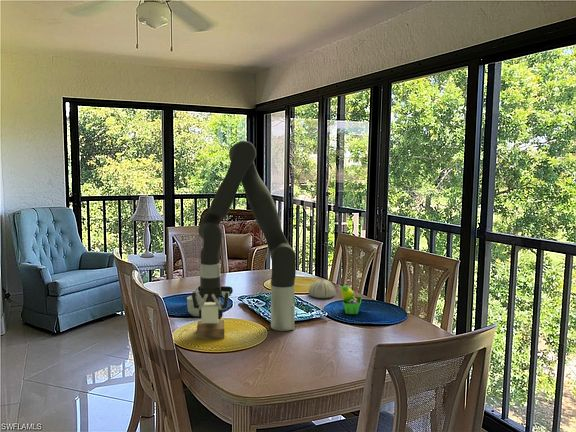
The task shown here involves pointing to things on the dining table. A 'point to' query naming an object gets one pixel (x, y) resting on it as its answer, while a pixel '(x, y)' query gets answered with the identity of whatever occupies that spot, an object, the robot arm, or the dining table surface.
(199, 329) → the walnut base
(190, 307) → the teacup
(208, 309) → the cream cube
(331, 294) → the sea urchin shell
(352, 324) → the dining table surface
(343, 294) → the fruit basket
